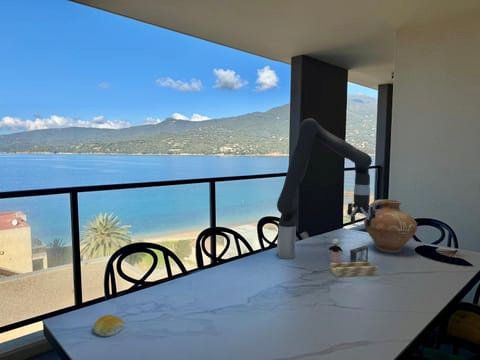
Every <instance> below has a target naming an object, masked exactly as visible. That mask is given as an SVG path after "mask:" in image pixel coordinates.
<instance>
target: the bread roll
mask: <svg viewBox="0 0 480 360" xmlns="http://www.w3.org/2000/svg"><path fill="white" fill-rule="evenodd" d="M124 325H125V322H124V320H123V319H122V318H120V317H116V316H115V315H113V314H108V315H104V316H101V317H99V318H98V319H97V320H95V323H94V325H93V332H94V333H95V334H96V335H98V336H101V337H111V336H114V335H116V334H118V333H120V332H121V331H123V329H124Z"/></svg>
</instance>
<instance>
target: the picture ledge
mask: <svg viewBox="0 0 480 360" xmlns="http://www.w3.org/2000/svg"><path fill="white" fill-rule="evenodd" d="M329 271H330V273H332V274H333V275H334V276H335V277H337V278H344V277H345V278H346V277H366V276H367V277H368V276H370V277H371V276H378V275H379V266H377V265H372V262H371V261H368V262H350V261H349V262H340V263H337V262H336V263H332V262H330V263H329Z"/></svg>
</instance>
